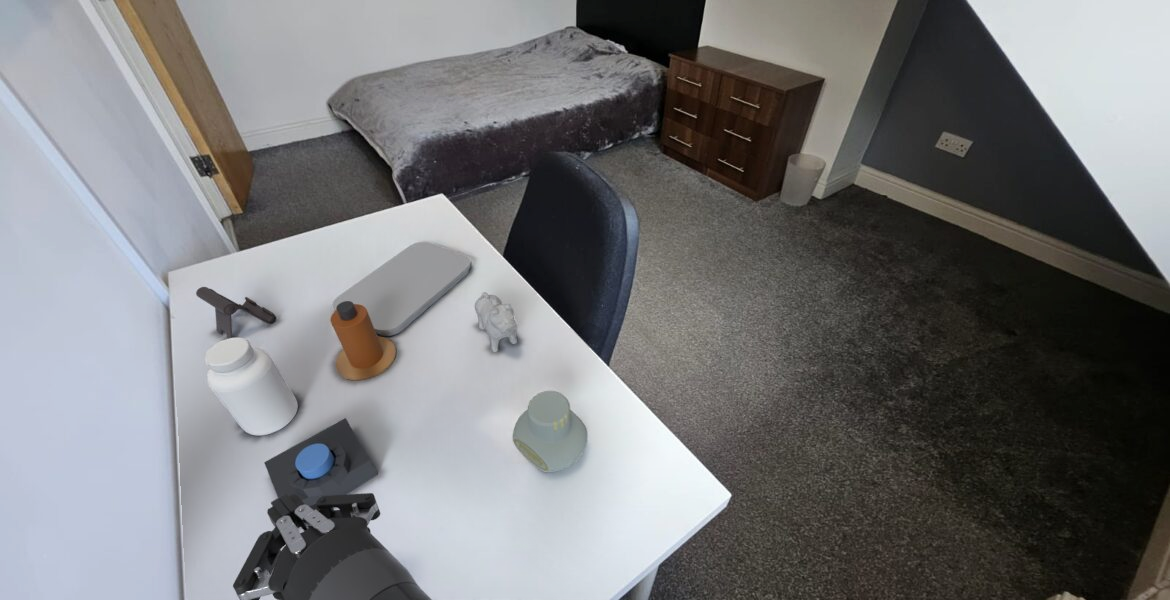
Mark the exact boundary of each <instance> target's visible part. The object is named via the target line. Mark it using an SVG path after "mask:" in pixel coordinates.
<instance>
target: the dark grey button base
mask: <svg viewBox="0 0 1170 600" xmlns="http://www.w3.org/2000/svg"><path fill="white" fill-rule="evenodd" d="M313 444H324V445H326V446H327V447H328V448H329V450H330V452H331V453H332V455H333V457H334V464H333V467H332V468H331V470H330V471H329V472H328V473H327V474H325V475H324V476H322V477H320V478H318V479H313V480H311V479H306V478H304V477H303V476H302V474H301V473H300V472H299V470H298V469H297V468H296V465H295V461H296V458H297V456H298V454H299V453H300V452H301V451H302V450H303V449H305V448H306V447H308V446H310V445H313ZM263 464H264V466H265V468H266V471H267V473H268V476H269V478H270V479H269V480H270V481H271V483H272V485H273V488H274V489H273V490H274V492H275V494H276V496H277V498H279V497H281V496H282V495H284V494H287V495H288V496H291V495H293V494H294V495H297V496H298V497H299V498H300V499H301V500H302V501H303V502H304V504H306V505H308V506H311V505H314V504H316V501H317V500H318V499H319V498H321V497H323V496H332V495H348V494H350V493H351V492H352V491H354V490H356V489H357V488H359V487H361V486H362V485H364V484H365V483H366V482H369V481H370V480H371V479H373V478H375V477H376V476H378V472H377V470H376V468H375V467H374V465H373V463H372V461H371V459H370V457H369V456H368V454H367V452H366V450H365V449H364V447H363V445H362V443H361V442H360V440H359V439H358V437H357V435H356V433H355V432H354V430H353V428H352V426H351V424H350V423H349V421H348V420H347V418H346V417H344V418H342V419H340V420H339V421H337V422H335V423H333V424H331V425H330V426H328V427H326V428H325V429H323V430H320V431H319V432H317V433H315V434H314V435H311V436H309V437H308V438H306V439H304V440H302V441H300V442H299V443H297V444H295V445H293V446H291V447H290V448H287V449H286V450H284V451H282V452H281V453H279V454H277V455H275V456H273V457H271V458H269V459H267V460H266V461H264V462H263Z"/></svg>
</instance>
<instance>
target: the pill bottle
mask: <svg viewBox="0 0 1170 600" xmlns="http://www.w3.org/2000/svg"><path fill="white" fill-rule="evenodd" d="M204 362H205V363H206V365H207V366H208V368H209V369H208V370H207V374H206V381H207V385H208V386H209V388H210V390H211V391H212V392H213V394H215V396H216V397H217V399H218V400H219V401H220V402H221V403H222V405H223V406H224V408H225V409H226V410H227V411H228V412H229V414H230V415H231V417H233V419H234V420H235V421H236V423H237V424H238V426H239V427H240V429H242V430H243V431H244V432H245V433H247V434H249V435H251V436H267V435H270V434H273V433H275V432H278V431H280V430H281V429H283V428H284V427H286V426H287V425H288V424H289V423H291V421H292V420H293V419H294V418H295V416H296V414H297V412H298V409H299V408H298V407H299V406H298V405H299V404H298V400H297V398H296V396H295V394H294V393H293V391H292V390H291V388H290V387H289V385H288V383H287V381H286V380H285V378H284V376H283V375H282V373H281V372H280V369H279V367H278V366H277V364H276V363H275V362H274V360H273V358H272V357H271V355H270V354H269V352H267V351H266V350H264V349H261V348H259V347H253V346H252V345H251V343H250V342H249V341H248V340H247V339H246V338H242V337H232V338H229V339H227V338H225V339H223V340H221V341H218V342H216V343H215V344H213V345H212V346H211V347H210V348H209V349H208V350H207V351H206V353H205V355H204Z"/></svg>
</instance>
